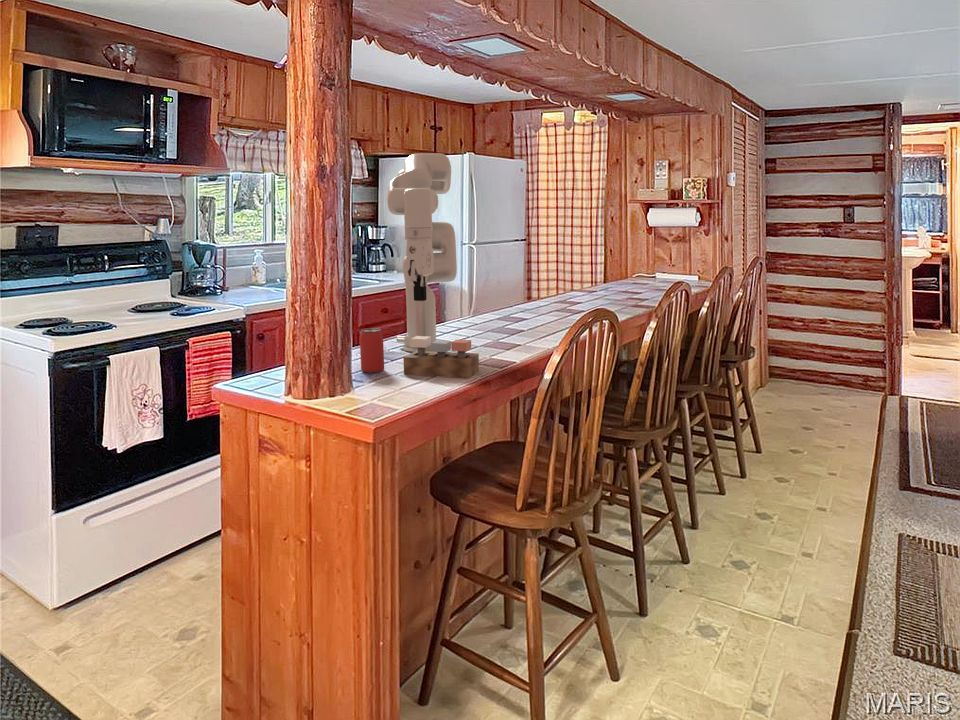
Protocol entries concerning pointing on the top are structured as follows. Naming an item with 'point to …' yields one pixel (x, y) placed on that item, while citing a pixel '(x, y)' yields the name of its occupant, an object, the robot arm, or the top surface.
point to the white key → (421, 343)
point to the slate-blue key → (440, 347)
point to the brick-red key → (461, 347)
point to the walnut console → (441, 364)
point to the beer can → (371, 350)
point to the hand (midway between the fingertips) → (420, 300)
